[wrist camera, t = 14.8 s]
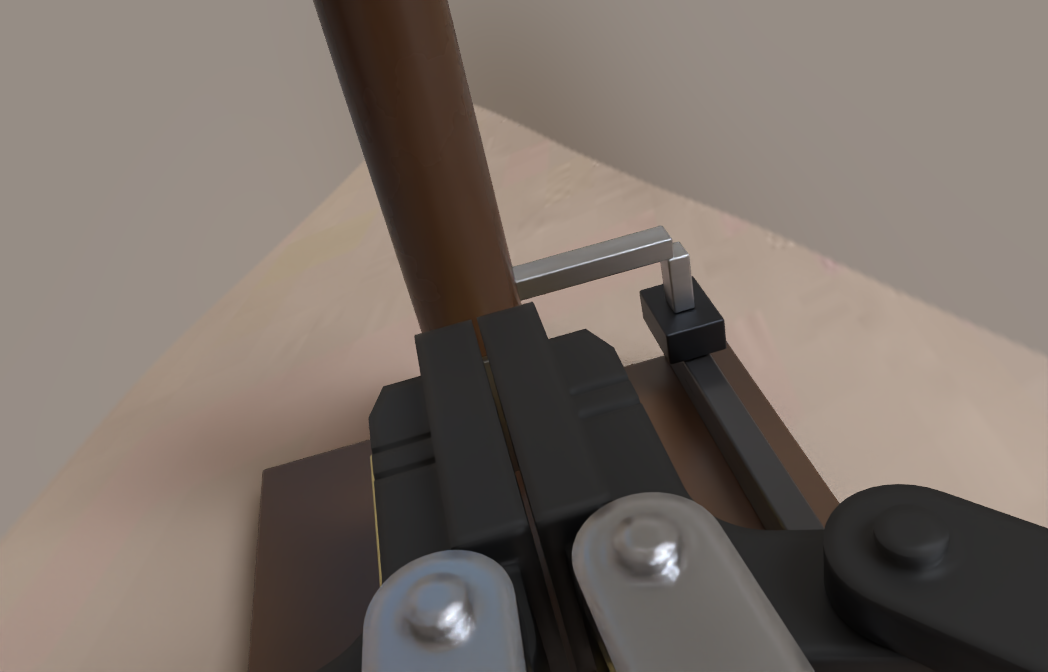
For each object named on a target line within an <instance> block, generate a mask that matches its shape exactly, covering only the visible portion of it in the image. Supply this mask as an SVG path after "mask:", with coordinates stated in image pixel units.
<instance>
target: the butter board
mask: <svg viewBox="0 0 1048 672" xmlns="http://www.w3.org/2000/svg"><path fill="white" fill-rule="evenodd" d="M726 346H727V347H726V349H724V350H721V351H717V352H714V353H710V354H707V355H703V356H700V357H696V358H693V359H689V360H686V361H682V362H679V363H675V364H670V363H669V362H668V360H667V358H666V356H665V355H664V356H661V357H657V358H654V359H650V360H647V361H643V362H640V363H636V364H633V365H629V366H626V367H624V369H625V371H626V373H627V375H628V379H629V380H630V381H631V383H632V385H633V387H634V389H635V390H636V392H637V394H638V396H639V400H640V403H642V404H643V406H644V408H645V410H646V412H647V414H648V416H649V418H650V420H651V422H652V424H653V426H654V428H655V430H656V432H657V434H658V436H659V438H660V440H661V442H662V444H663V446H664V448H665V450H666V452H667V454H668V456H669V458H670V460H671V462H672V464H673V466H674V468H675V470H676V472H677V474H678V475H679V477H680V479H681V481H682V483H683V485H684V487H685V489H686V491H687V492H688V494H689V495H690V497H691V498H692V499H693V500H694V501H695V502H696V503H698V504H699V505H701V506H703V507H704V508H705V509H706V510H707V511H709V512H710V513H711V514H712V515H713V516H715V517H717V518H718V519H721V520H723V521H726V522H728V523H731V524H734V525H738V526H741V527H745V528H751V529H758V530H813V529H825V525H826V522H827V520H828V518H829V516H830V514H831V513H832V512H833V510H834V509H835V508H836V507H837V506H838V505H839V504H840V503H839V502H838V501H837V499H836V498H835V496H834V495H833V493H832V492H831V491H830V489H829V488H828V486H827V485H826V483H825V482H824V481H823V479H822V478H821V476H820V475H819V473H818V472H817V470H816V469H815V468H814V466H813V465H812V463H811V462H810V460H809V459H808V458H807V456H806V455H805V453H804V452H803V450H802V449H801V448H800V446H799V445H798V443H797V442H796V440H795V439H794V437H793V436H792V435H791V433H790V432H789V430H788V429H787V427H786V426H785V425H784V423H783V422H782V420H781V419H780V417H779V416H778V415H777V413H776V412H775V410H774V409H773V407H772V406H771V405H770V403H769V402H768V400H767V399H766V397H765V396H764V394H763V393H762V392H761V390H760V389H759V387H758V386H757V384H756V383H755V382H754V380H753V379H752V377H751V376H750V374H749V373H748V372H747V370H746V369H745V367H744V366H743V364H742V363H741V361H740V360H739V359H738V357H737V356H736V354H735V353H734V351H733V350H732V349H731V347H730V346H729V344H728V343H727V341H726ZM372 455H373V454H372V450H371V442H370V440H366V441H363V442H359V443H356V444H352V445H349V446H345V447H342V448H338V449H335V450H331V451H328V452H324V453H321V454H317V455H314V456H310V457H307V458H303V459H300V460H296V461H293V462H289V463H286V464H282V465H279V466H275V467H272V468H268V469H265V470H263V474H262V487H261V501H260V514H259V528H258V542H257V555H256V569H255V582H254V596H253V610H252V623H251V637H250V650H249V664H248V672H315V671H317V670H318V669H320V668H322V667H323V666H325V665H326V664H328V663H329V662H331V661H332V660H333V659H335V658H336V657H338V656H339V655H340V654H341V653H342V652H344V651H345V650H346V649H347V648H348V647H349V646H350V645H351V644H352V643H353V642H354V641H355V640H356V639H357V638H358V637H359V636H360V634H361V633H362V632H363V626H364V619H365V615H366V612H367V609H368V606H369V604H370V602H371V600H372V598H373V596H374V595H375V593H376V592H377V591H378V589H379V588H380V587H381V585H382V575H381V563H380V551H379V539H378V527H377V515H376V503H375V490H374V481H375V479H374V475H373V466H372ZM515 474H516V478H517V482H518V485H519V489H520V492H521V496H522V499H523V503H524V507H525V510H526V514H527V517H528V521H529V524H530V528H531V532H532V535H533V539H534V542H535V546H536V549H537V553H538V557H539V560H540V564H541V567H542V571H543V574H544V578H545V582H546V585H547V589H548V592H549V596H550V599H551V603H552V607H553V610H554V614H555V617H556V621H557V624H558V628H559V631H560V635H561V639H562V642H563V646H564V649H565V653H566V656H567V660H568V664H569V667H570V671H571V672H577V668H576V665H575V661H574V658H573V654H572V651H571V648H570V644H569V641H568V637H567V634H566V630H565V627H564V623H563V620H562V616H561V613H560V609H559V606H558V602H557V599H556V595H555V592H554V588H553V585H552V581H551V578H550V574H549V571H548V568H547V564H546V561H545V557H544V554H543V550H542V547H541V543H540V540H539V536H538V533H537V529H536V526H535V522H534V519H533V515H532V512H531V508H530V505H529V501H528V498H527V495H526V491H525V488H524V484H523V481H522V477H521V474H520V470H519V471H515ZM591 672H598V671H597V670H594V671H591Z"/></svg>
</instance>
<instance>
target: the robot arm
mask: <svg viewBox="0 0 1048 672" xmlns="http://www.w3.org/2000/svg"><path fill="white" fill-rule="evenodd" d="M477 322H478V325H479V329H480V332H481V336H482V339H483V343H484V347H485V350H486V354H487V357H488V361H489V364H490V368H491V371H492V375H493V379H494V382H495V386H496V389H497V393H498V396H499V400H500V403H501V407H502V410H503V414H504V418H505V421H506V425H507V428H508V432H509V435H510V439H511V442H512V446H513V449H514V453H515V456H516V460H517V463H518V467H519V470H520V474H521V477H522V481H523V484H524V488H525V491H526V495H527V498H528V501H529V505H530V508H531V512H532V515H533V519H534V522H535V526H536V529H537V533H538V536H539V540H540V543H541V547H542V550H543V554H544V557H545V561H546V564H547V568H548V571H549V574H550V578H551V581H552V585H553V588H554V592H555V595H556V599H557V602H558V606H559V609H560V613H561V616H562V620H563V623H564V627H565V630H566V634H567V637H568V641H569V644H570V648H571V651H572V654H573V658H574V661H575V665H576V668H577V672H591V671H594V670H597V671H598V672H1048V528H1045V527H1042V526H1039V525H1036V524H1034V523H1031V522H1028V521H1025V520H1022V519H1019V518H1016V517H1014V516H1011V515H1008V514H1005V513H1002V512H999V511H996V510H993V509H991V508H988V507H985V506H982V505H979V504H976V503H973V502H970V501H968V500H965V499H962V498H959V497H956V496H953V495H950V494H948V493H945V492H942V491H938V490H935V489H931V488H928V487H922V486H916V485H904V484H894V485H882V486H877V487H872V488H869V489H866V490H863V491H860V492H857V493H856V494H854V495H852V496H850V497H848V498H847V499H845V500H844V501H843V502H841V503H840V504H839V505H838V506H837V507H836V508H835V509H834V510H833V512H832V513H831V514H830V516H829V518H828V520H827V522H826V525H825V529H813V530H758V529H751V528H745V527H741V526H738V525H734V524H731V523H728V522H726V521H723V520H721V519H718V518H717V517H715V516H713V515H712V514H711V513H710V512H709V511H707V510H706V509H705V508H704V507H703V506H701V505H699V504H698V503H696V502H695V501H694V500H693V499H692V498H691V497H690V495H689V494H688V492H687V491H686V489H685V487H684V485H683V483H682V481H681V479H680V477H679V475H678V474H677V472H676V470H675V468H674V466H673V464H672V462H671V460H670V458H669V456H668V454H667V452H666V450H665V448H664V446H663V444H662V442H661V440H660V438H659V436H658V434H657V432H656V430H655V428H654V426H653V424H652V422H651V420H650V418H649V416H648V414H647V412H646V410H645V408H644V406H643V404H642V403H640V400H639V396H638V394H637V392H636V390H635V389H634V387H633V385H632V383H631V381H630V380H629V379H628V375H627V373H626V371H625V369H624V367H623V365H622V363H621V361H620V359H619V357H618V355H617V353H616V351H615V349H614V347H612V346H611V345H609V344H608V343H606V342H605V341H603V340H602V339H600V338H599V337H597V336H596V335H594V334H593V333H591V332H590V331H588V330H586V329H583V330H579V331H576V332H572V333H569V334H565V335H562V336H558V337H555V338H551V339H548V337H547V335H546V332H545V330H544V327H543V325H542V322H541V320H540V317H539V315H538V312H537V310H536V307H535V305H534V303H533V302H530V303H526V304H523V305H519V306H516V307H512V308H508V309H505V310H501V311H498V312H494V313H491V314H487V315H484V316H480V317H477ZM415 344H416V349H417V355H418V361H419V367H420V373H421V376H419V377H415V378H412V379H408V380H405V381H401V382H398V383H394V384H390V385H387V386H383V388H382V390H381V392H380V395H379V397H378V399H377V401H376V403H375V405H374V407H373V409H372V412H371V414H370V416H369V430H370V442H371V450H372V454H373V455H372V466H373V475H374V479H375V481H374V490H375V503H376V515H377V527H378V539H379V551H380V563H381V575H382V585H381V587H380V588H379V589H378V591H377V592H376V593H375V595H374V596H373V598H372V600H371V602H370V604H369V606H368V609H367V612H366V615H365V619H364V626H363V632H362V633H361V634H360V636H359V637H358V638H357V639H356V640H355V641H354V642H353V643H352V644H351V645H350V646H349V647H348V648H347V649H346V650H345V651H344V652H342V653H341V654H340V655H339V656H338V657H336V658H335V659H333V660H332V661H331V662H329V663H328V664H326V665H325V666H323V667H322V668H320V669H318V670H317V671H315V672H571V671H570V667H569V664H568V660H567V656H566V653H565V649H564V646H563V642H562V639H561V635H560V631H559V628H558V624H557V621H556V617H555V614H554V610H553V607H552V603H551V599H550V596H549V592H548V589H547V585H546V582H545V578H544V574H543V571H542V567H541V564H540V560H539V557H538V553H537V549H536V546H535V542H534V539H533V535H532V532H531V528H530V524H529V521H528V517H527V514H526V510H525V507H524V503H523V499H522V496H521V492H520V489H519V485H518V482H517V478H516V474H515V471H514V467H513V464H512V460H511V457H510V453H509V450H508V446H507V442H506V439H505V435H504V432H503V428H502V425H501V421H500V418H499V414H498V411H497V407H496V404H495V400H494V397H493V393H492V390H491V386H490V383H489V379H488V376H487V372H486V369H485V365H484V362H483V358H482V355H481V351H480V348H479V344H478V341H477V337H476V334H475V330H474V327H473V323H472V320H471V319H470V320H467V321H463V322H460V323H456V324H453V325H449V326H445V327H442V328H438V329H435V330H431V331H428V332H424V333H421V334H417V335H415Z"/></svg>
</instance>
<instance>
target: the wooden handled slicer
mask: <svg viewBox="0 0 1048 672" xmlns="http://www.w3.org/2000/svg"><path fill="white" fill-rule="evenodd" d="M313 2H314V5H315V8H316V11H317V14H318V17H319V20H320V23H321V26H322V29H323V32H324V36H325V38H326V42H327V45H328V48H329V51H330V54H331V57H332V60H333V63H334V66H335V69H336V72H337V75H338V78H339V81H340V84H341V87H342V90H343V94H344V96H345V100H346V103H347V106H348V108H349V112H350V115H351V118H352V121H353V124H354V127H355V130H356V133H357V136H358V139H359V142H360V145H361V148H362V152H363V155H364V158H365V161H366V164H367V167H368V170H369V173H370V176H371V179H372V182H373V185H374V188H375V191H376V194H377V197H378V200H379V203H380V207H381V210H382V213H383V216H384V219H385V222H386V225H387V228H388V231H389V234H390V237H391V240H392V243H393V246H394V249H395V252H396V255H397V258H398V261H399V265H400V268H401V271H402V274H403V277H404V280H405V283H406V286H407V289H408V292H409V295H410V298H411V301H412V304H413V307H414V310H415V313H416V316H417V319H418V323H419V326H420V329H421V332H422V333H424V332H428V331H431V330H435V329H438V328H442V327H445V326H449V325H453V324H456V323H460V322H463V321H467V320H470V319H471V320H472V323H473V327H474V330H475V334H476V337H477V341H478V344H479V348H480V351H481V355H482V358H483V362H484V365H485V369H486V372H487V376H488V379H489V383H490V386H491V390H492V393H493V397H494V400H495V404H496V407H497V411H498V414H499V418H500V421H501V425H502V428H503V432H504V435H505V439H506V442H507V446H508V450H509V453H510V457H511V460H512V464H513V467H514V471H519V467H518V463H517V460H516V456H515V453H514V449H513V446H512V442H511V439H510V435H509V432H508V428H507V425H506V421H505V418H504V414H503V410H502V407H501V403H500V400H499V396H498V393H497V389H496V386H495V382H494V379H493V375H492V371H491V368H490V364H489V361H488V357H487V354H486V350H485V347H484V343H483V339H482V336H481V332H480V329H479V325H478V322H477V317H480V316H484V315H487V314H491V313H494V312H498V311H501V310H505V309H508V308H512V307H516V306H519V305H521V300H525V299H529V298H532V297H536V296H539V295H543V294H546V293H550V292H554V291H557V290H561V289H564V288H568V287H571V286H575V285H579V284H582V283H586V282H589V281H593V280H596V279H600V278H604V277H607V276H611V275H614V274H618V273H621V272H625V271H628V270H632V269H636V268H639V267H643V266H646V265H650V264H653V263H657V262H660V263H661V270H662V278H663V284H662V285H658V286H654V287H651V288H647V289H644V290H641V291H640V299H641V306H642V312H643V318H644V320H645V322H646V324H647V325H648V327H649V329H650V331H651V332H652V334H653V336H654V337H655V339H656V341H657V343H658V344H659V346H660V348H661V350H662V351H663V353H664V355H665V356H666V358H667V360H668V362H669V363H670V364H675V363H679V362H682V361H686V360H689V359H693V358H696V357H700V356H703V355H707V354H710V353H714V352H717V351H721V350H724V349H726V347H727V346H726V335H725V323H724V319H723V317H722V316H721V315H720V313H719V312H718V310H717V309H716V308H715V306H714V305H713V303H712V302H711V301H710V299H709V298H708V297H707V295H706V294H705V292H704V291H703V290H702V288H701V287H700V285H699V284H698V283H697V281H696V280H695V278H694V277H693V276H691V266H690V257H689V254H688V253H687V251H686V250H685V249H684V247H683V246H682V245H681V243H680V242H675V243H672V238H671V237H670V235H669V234H668V233H667V231H666V230H665V229H664V227H663V226H658V227H654V228H651V229H647V230H644V231H640V232H636V233H633V234H629V235H626V236H622V237H618V238H615V239H611V240H608V241H604V242H600V243H597V244H593V245H590V246H586V247H583V248H579V249H575V250H572V251H568V252H565V253H561V254H557V255H554V256H550V257H547V258H543V259H539V260H536V261H532V262H529V263H525V264H521V265H518V266H514V267H512V263H511V259H510V255H509V251H508V247H507V243H506V239H505V235H504V231H503V227H502V222H501V218H500V214H499V210H498V206H497V202H496V198H495V194H494V190H493V185H492V181H491V177H490V173H489V169H488V165H487V161H486V157H485V153H484V148H483V144H482V140H481V136H480V132H479V128H478V124H477V120H476V116H475V112H474V107H473V103H472V99H471V95H470V91H469V87H468V83H467V79H466V75H465V70H464V67H463V62H462V59H461V54H460V50H459V46H458V42H457V38H456V33H455V29H454V25H453V21H452V17H451V13H450V9H449V5H448V1H447V0H313Z"/></svg>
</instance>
